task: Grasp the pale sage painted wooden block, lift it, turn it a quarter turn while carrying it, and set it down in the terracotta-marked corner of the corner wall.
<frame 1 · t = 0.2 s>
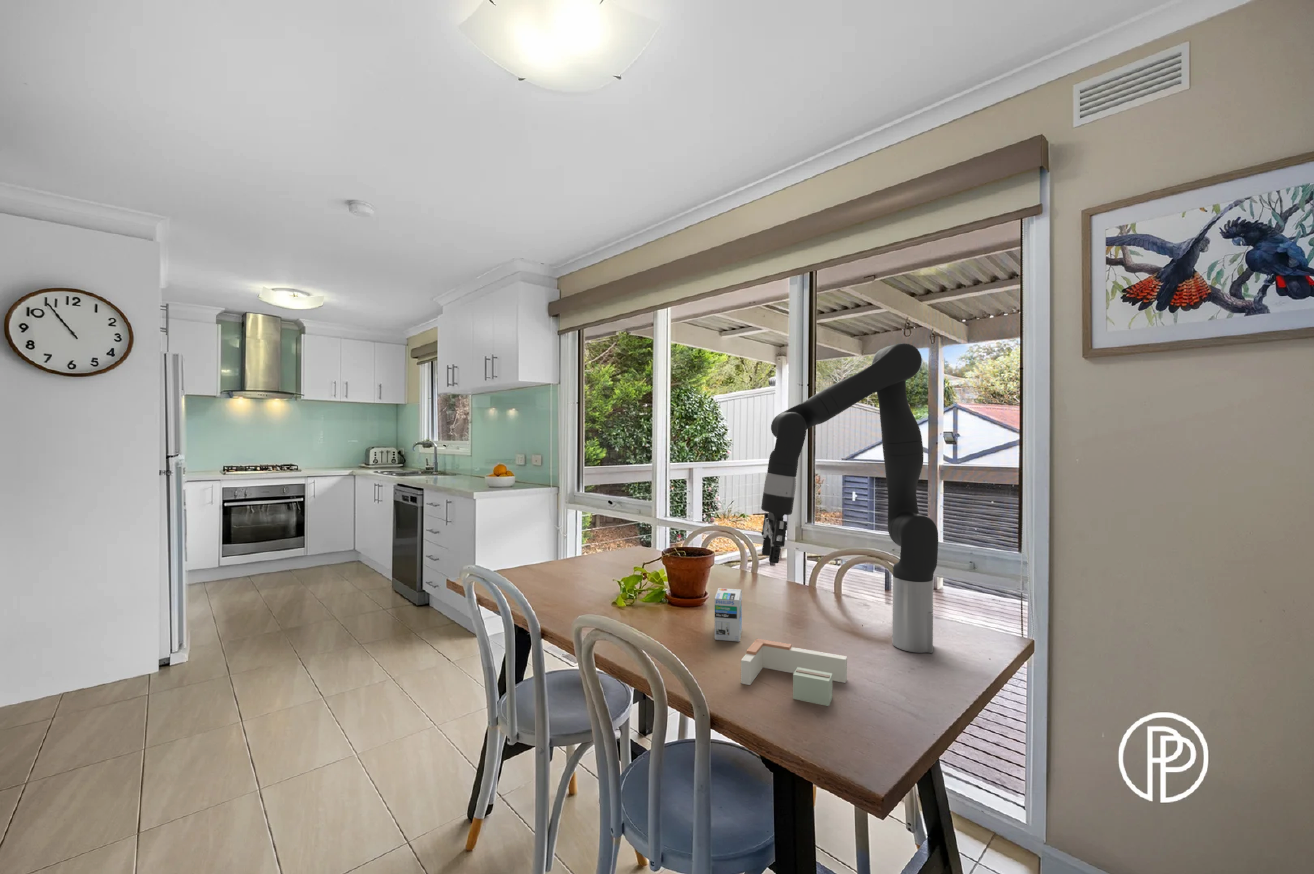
hand: (769, 558, 140), 22 cm above the table, tool pointing down, fingers open, 8 cm apart
light bulb box: (728, 634, 151), on the table
block: (812, 698, 115), on the table
corner wall: (785, 679, 123), on the table
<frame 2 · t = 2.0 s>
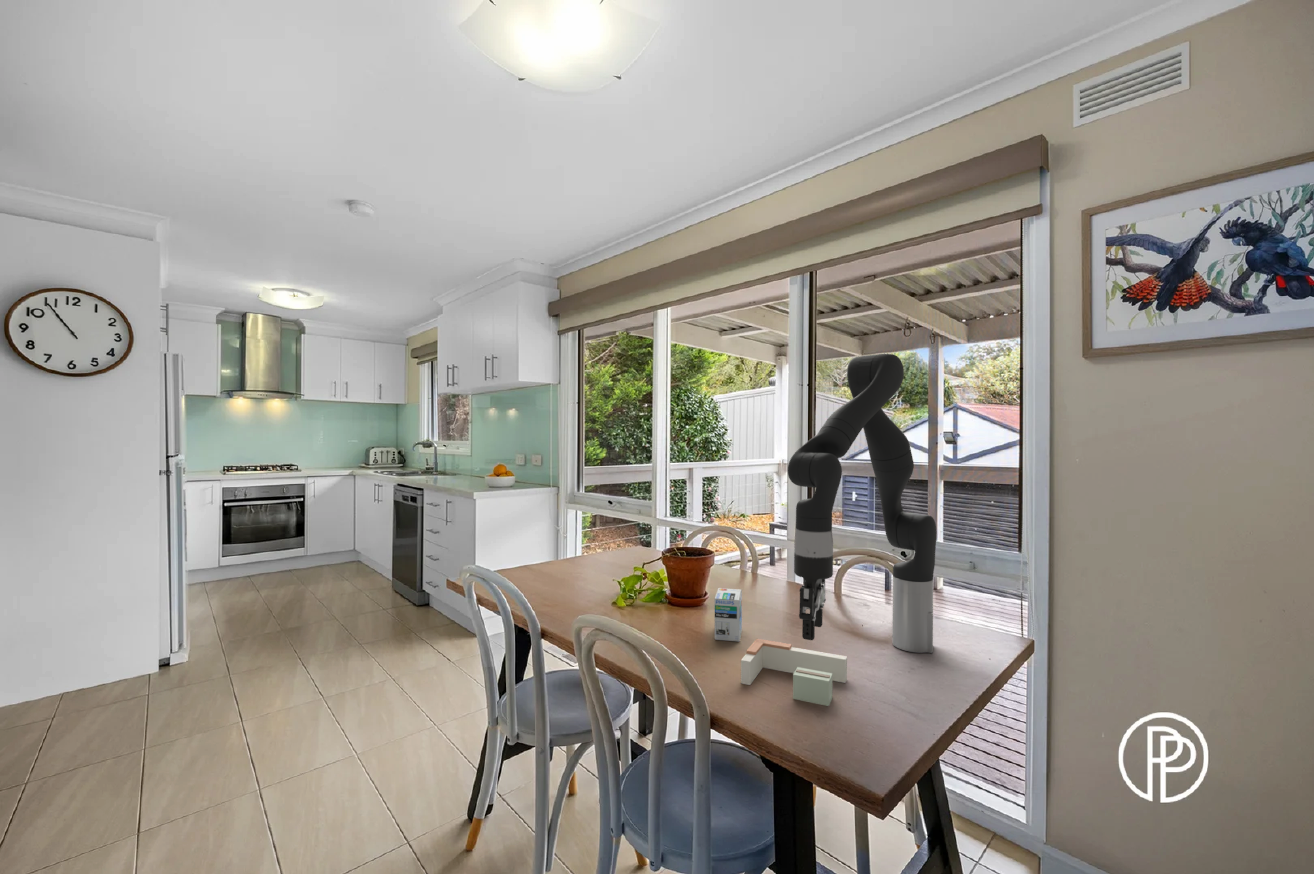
hand: (812, 632, 115), 13 cm above the table, tool pointing down, fingers open, 8 cm apart
nothing on the table moved.
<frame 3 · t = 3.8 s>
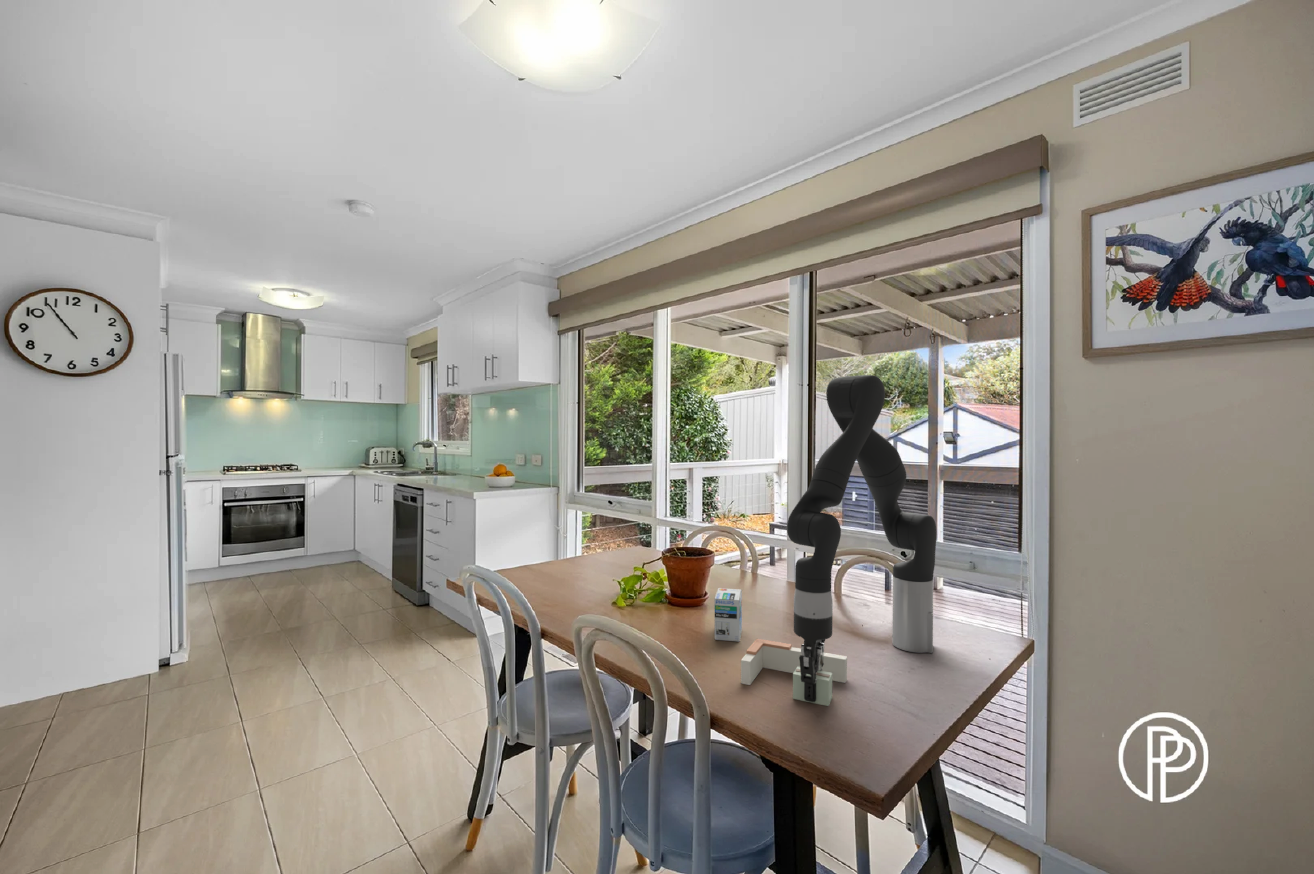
hand: (812, 695, 115), 1 cm above the table, tool pointing down, fingers closed on block, 4 cm apart
block: (812, 698, 115), on the table, touching gripper
everything else where it was.
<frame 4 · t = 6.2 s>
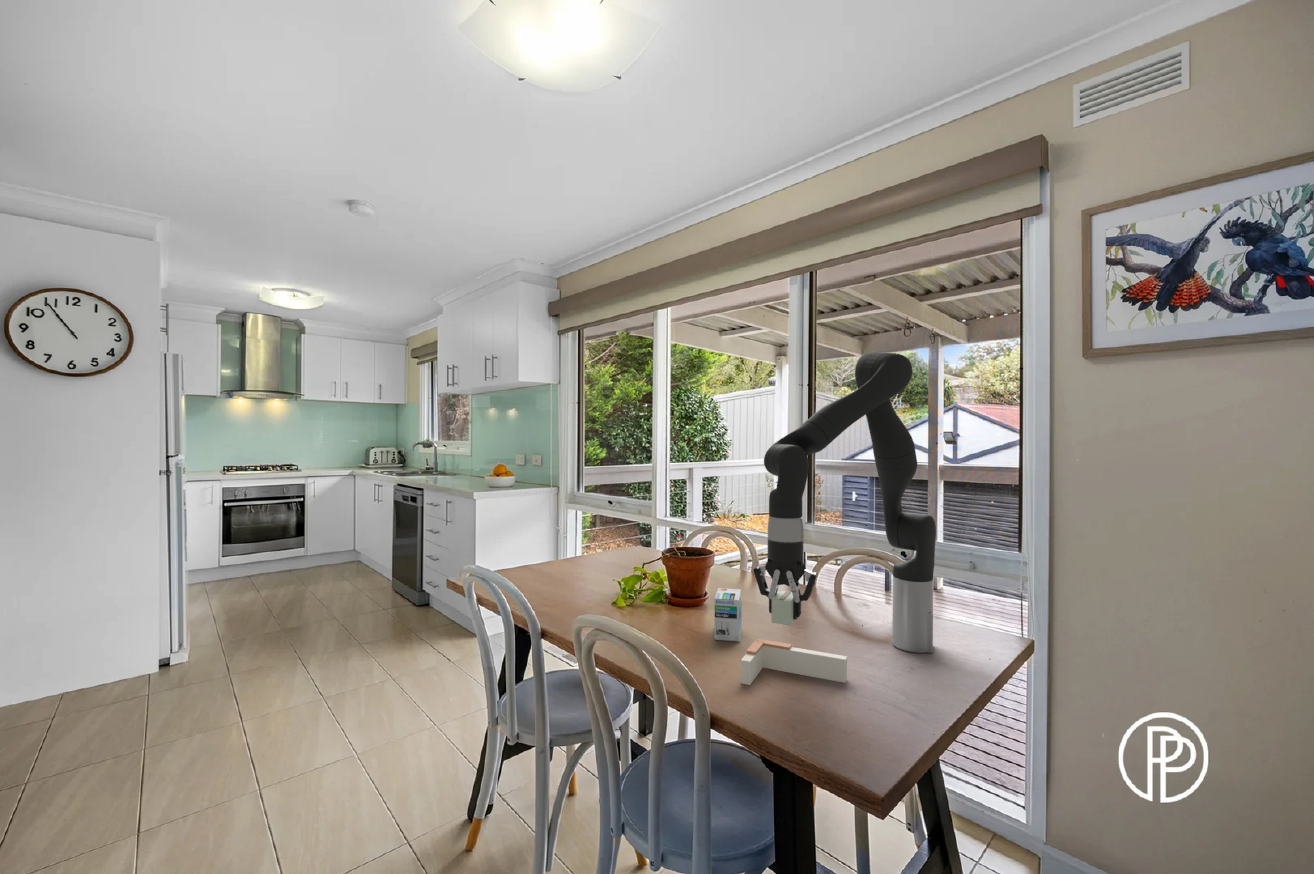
hand: (785, 616, 123), 14 cm above the table, tool pointing down, fingers closed on block, 4 cm apart
block: (784, 619, 123), point 13 cm above the table, touching gripper
everything else where it was.
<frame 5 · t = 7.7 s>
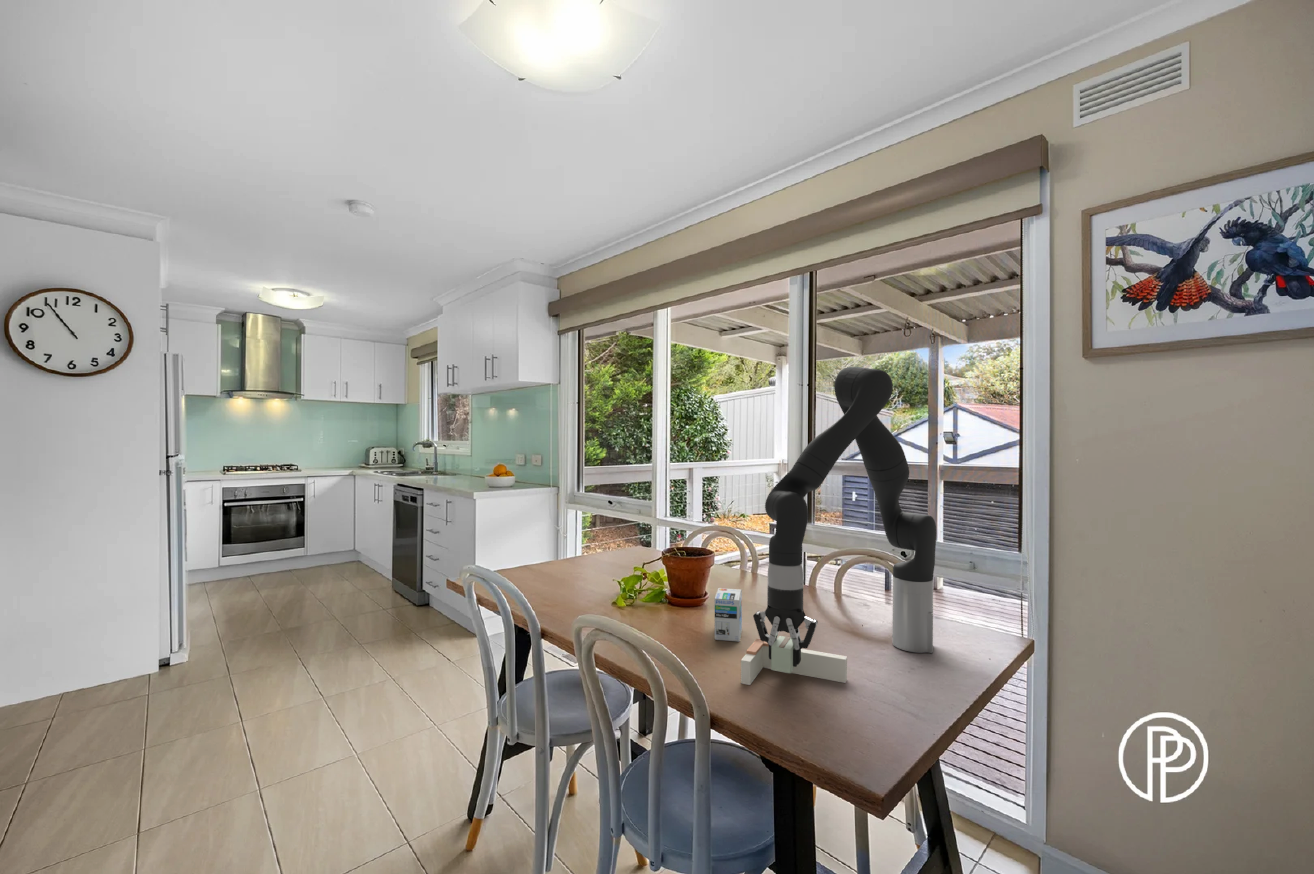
hand: (784, 662, 123), 4 cm above the table, tool pointing down, fingers closed on block, 4 cm apart
block: (784, 665, 123), point 3 cm above the table, touching gripper
everything else where it was.
when the fingers open (1 cm above the table, at t = 8.6 s): block stays where it is, on the table.
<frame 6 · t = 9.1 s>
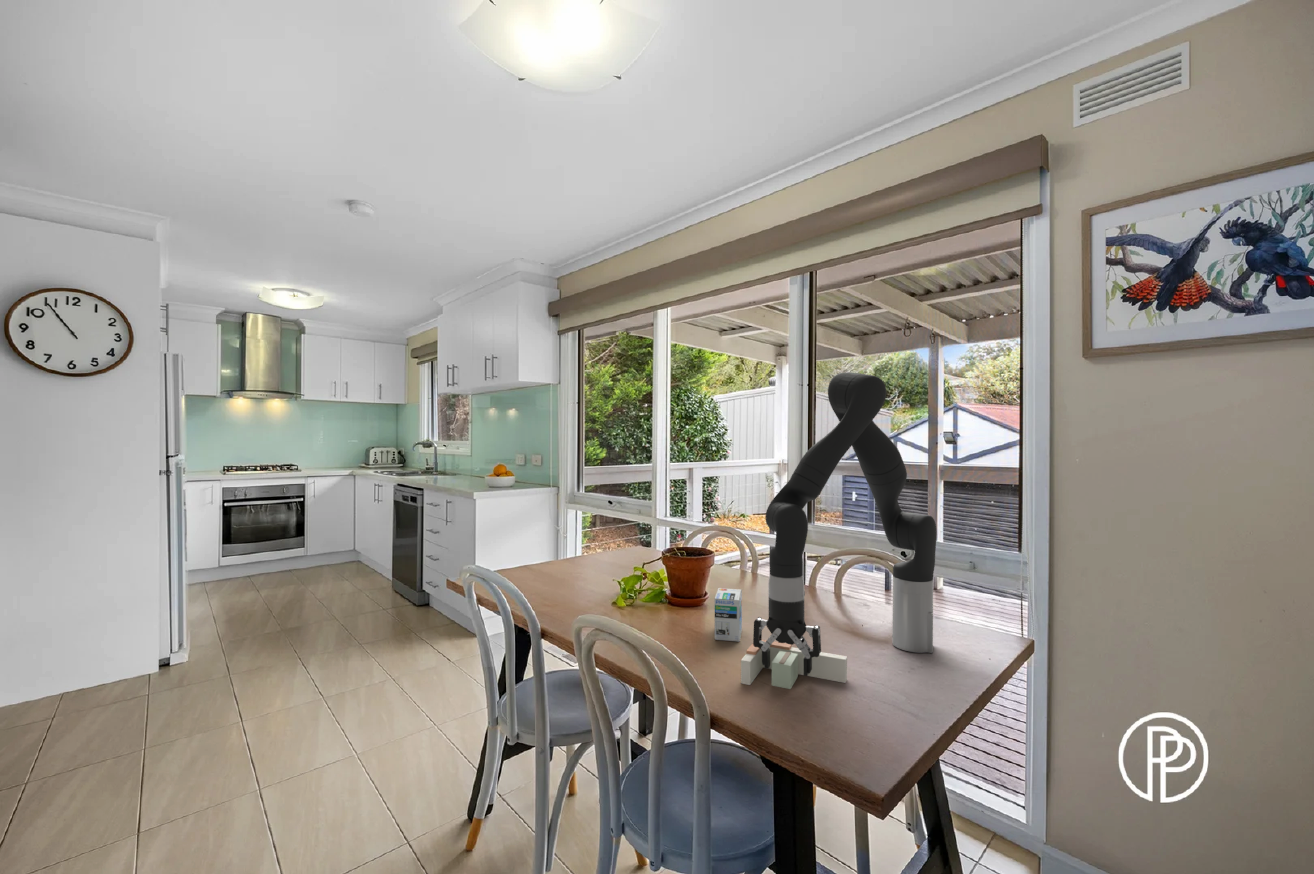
hand: (786, 670, 123), 2 cm above the table, tool pointing down, fingers open, 8 cm apart
block: (785, 681, 123), on the table
everything else where it was.
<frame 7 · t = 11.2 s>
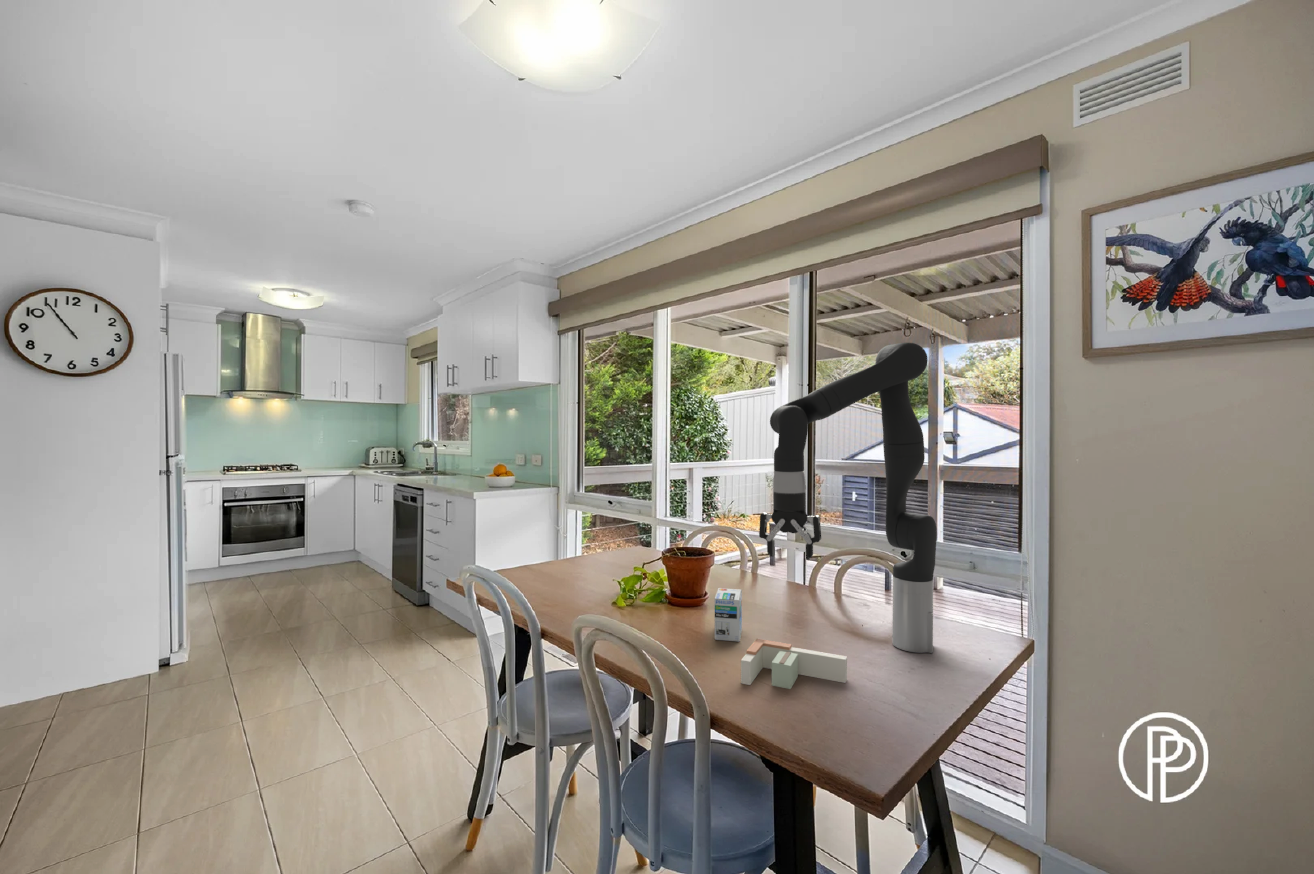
hand: (790, 557, 136), 23 cm above the table, tool pointing down, fingers open, 8 cm apart
nothing on the table moved.
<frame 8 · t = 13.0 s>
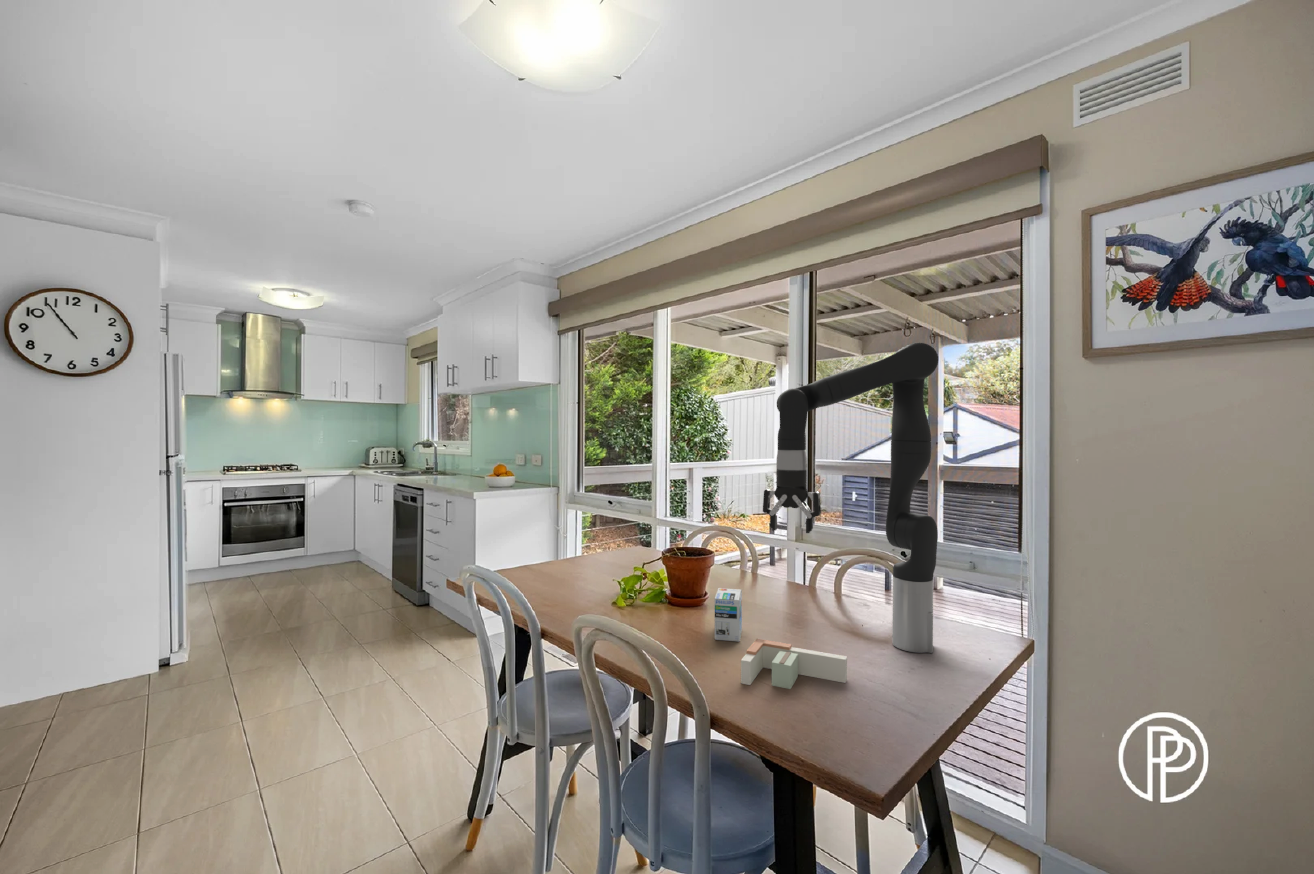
hand: (791, 531, 145), 28 cm above the table, tool pointing down, fingers open, 8 cm apart
nothing on the table moved.
at the end: block inside the target area (0.7 cm from its centre), on the table; block tilted 0°; the gripper is holding nothing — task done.
